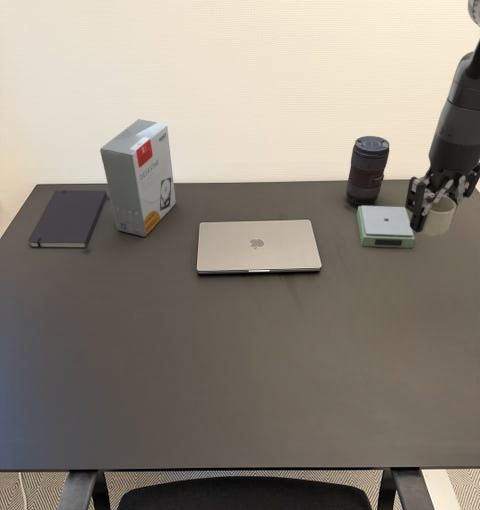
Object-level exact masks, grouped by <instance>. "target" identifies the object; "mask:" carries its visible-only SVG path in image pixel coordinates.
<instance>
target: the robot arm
mask: <svg viewBox="0 0 480 510" xmlns="http://www.w3.org/2000/svg"><path fill="white" fill-rule="evenodd" d="M467 13H468V15H469V17H470V19H471V21H472V22H473V23H474V24H475V25H476V26H478V27H479V28H480V0H467ZM428 159H429V163H430V164H429V167H428V170H426V172H425V174H424V176H421V177H419V178H418V177H416V176H412V177H411V178H410V179H409V182H408V187H407V194H406V198H405V204H404V207H405V208H406V210H407V211H409V212H410V213H412V215H411V218H410V227H411V229H412V230H413V232H415V233H417V234H420V233H419V232H421V231H422V229H423V226H424V223H425V220H426V217H427V213H428V211H429V210H430V208H431V207H432V205H433V204H437V203H438V201H439V200H440V198H441V197H442V196H443V195H446V196H447V197H449V198H451V199H452V200H453V201H455V203H456V205H457V207H456V210H455V212H454V215H453V217H454V216H455V215H456V211H457V208H458V206H459V204H461V203H463V200H464V199H465V198H466V199H469V198H470V197H471V196H472V195H473V193H474V191H475V188H476V187H477V184H478V182H479V180H480V38H479V39H478V41H477V44H476V46H475V48H474V50H473V51H470V52H467V53H466V54H465V55H463V56H462V57H461V58H460V59H459V61H458V63H457V65H456V68H455V71H454V74H453V77H452V79H451V84H450V87H449V91H448V94H447V97H446V100H445V103H444V105H443V107H442V109H441V111H440V115H439V117H438V121H437V124H436V127H435V132H434V134H433V137H432V141H431V145H430V147H429V150H428ZM466 184H468V187H466ZM428 191H429V192H431V194H435V195H434V196H433V197H432V196H431V195H429V194H430V193H428ZM424 199H426V200H427V203H426V204H425V206H422V203H423V201H424ZM452 221H453V219H452V220H451V222H452Z"/></svg>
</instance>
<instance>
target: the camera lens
mask: <svg viewBox="0 0 480 510" xmlns="http://www.w3.org/2000/svg"><path fill="white" fill-rule="evenodd" d="M389 155H390V142H389V141H388V140H387V139H385V138H384V137H380V136H375V135H365V136H360V137H358V138H356V140H355V141H354V144H353V147H352V151H351V158H350V167H349V172H348V173H349V174H348V178H347V183H346V193H345V195H346V202H347V204H348V205H350V207H353V208H356V209H358V206H375V203H376V201H377V200H378V197H379V194H380V193H381V189H382V184H383V183H382V182H383V181H384V178H385V174H384V173H385V169H386V167H387V164H388V159H389Z"/></svg>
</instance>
